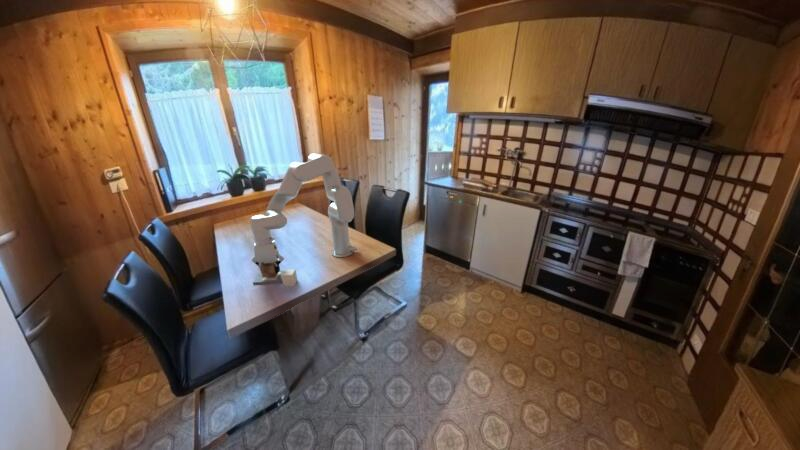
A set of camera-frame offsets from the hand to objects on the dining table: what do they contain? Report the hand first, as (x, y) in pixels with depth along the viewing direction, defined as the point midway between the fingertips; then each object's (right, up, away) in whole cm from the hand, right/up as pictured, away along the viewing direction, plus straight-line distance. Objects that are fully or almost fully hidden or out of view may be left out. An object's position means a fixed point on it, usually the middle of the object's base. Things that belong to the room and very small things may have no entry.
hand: (270, 272), depth 133 cm
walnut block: (0, -1, 0) cm, 1 cm away
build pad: (0, -3, +1) cm, 3 cm away
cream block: (+11, -5, -3) cm, 12 cm away
